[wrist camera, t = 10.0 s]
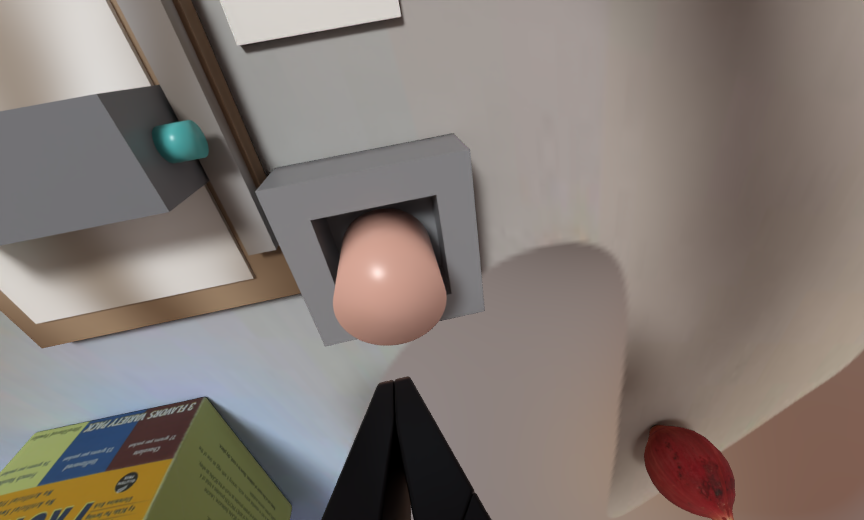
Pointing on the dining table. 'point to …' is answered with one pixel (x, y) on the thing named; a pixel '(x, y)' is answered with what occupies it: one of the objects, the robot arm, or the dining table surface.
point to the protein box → (140, 471)
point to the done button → (388, 279)
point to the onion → (690, 472)
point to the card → (300, 16)
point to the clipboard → (148, 236)
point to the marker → (95, 162)
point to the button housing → (369, 190)
